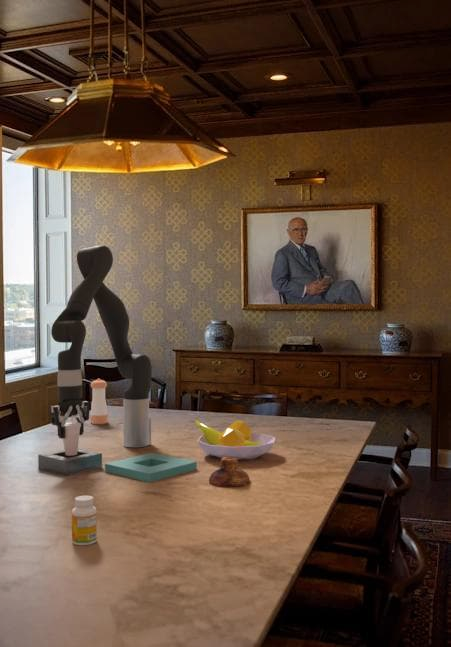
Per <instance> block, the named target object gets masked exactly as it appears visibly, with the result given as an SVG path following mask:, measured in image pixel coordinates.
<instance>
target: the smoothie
mask: <svg viewBox="0 0 451 647" xmlns="http://www.w3.org/2000/svg"><path fill="white" fill-rule="evenodd" d="M70 419H71V421H69V422H67V421H66V422H65V425H64V427H65V438H64V439H62V441H63V448H64V449H65V455H67V456H72V455H77V452H78V448H79V442H80V435H79V433H80V427H81V423H79V422H77V421H76V422H75V421H74V416H73V415H72V416H70ZM64 449H63V450H64Z"/></svg>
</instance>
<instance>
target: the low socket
mask: <svg viewBox="0 0 451 647" xmlns="http://www.w3.org/2000/svg"><path fill="white" fill-rule="evenodd" d="M197 466H198V463H197V461H196V460H191V459H190V460H189V459H186V458H180V457H176V456H170V455H165V454H161V453H156V452H150V453H145V454H142V455H141V454H140V455H136V456H132V457H129V458H123V459H120V460H119V459H118V460H114V461H109V462H107V463H104V472H105V473H109V474H113V475H114V474H115V475H118V476H122V477H126V478H131V479H134V480H139V481H142V482H146V483H152V482H156V481H159V480H163V479H167V478H171V477H174V476H178V475H182V474H185V473H189V472H193V471H197V468H198V467H197Z"/></svg>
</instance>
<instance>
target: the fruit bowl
mask: <svg viewBox="0 0 451 647" xmlns="http://www.w3.org/2000/svg"><path fill="white" fill-rule="evenodd" d="M194 422H195V424H196V425H197V426H198V429H199V431H200V433H201V436H200V437H198V439H197V443H198V445H199V446H200V447H201V449H202V451H204V452H205V454H208V455H210V456H214V457H217V458H219V459H222V458H223V457H229V459H234V458H236V459H237V460H238V461H239V460H241V461H242V460H243V461H244V460H254V459H256V458H257V457H260V456H262V455H264V454H266V453H268V452H271V450H272V448H273V446H274V443H275V440H276V437H275V436H272V435H269V434H265V433H262V432H261V433H260V432H252V429H251V427H249V425H247V424H246V423H245V422H244V421H241V420H236V421H234V422H232V423H231V424H230V425H229V426H227V427H226V429H225V430H223V431H222V432H221V431H219V430H216V429H213V428H212V427H209V426H207V425H205V424H203V423H201V422H200V421H199V420H197V419H196V420H195V421H194Z"/></svg>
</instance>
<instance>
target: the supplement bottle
mask: <svg viewBox="0 0 451 647" xmlns="http://www.w3.org/2000/svg"><path fill="white" fill-rule="evenodd" d="M94 502H95V501H94V496H92V495H79V496H76V497H74V506H75V507H73V508H72V510H71V542H72V544H73V545H76V546H80V547H81V546H82V547H83V546H90V545H93V544H94V543H96V542H97V541H98V524H97V523H98V518H97V517H98V516H97V514H98V513H97V512H98V510H97V508H96V506H94Z"/></svg>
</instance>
